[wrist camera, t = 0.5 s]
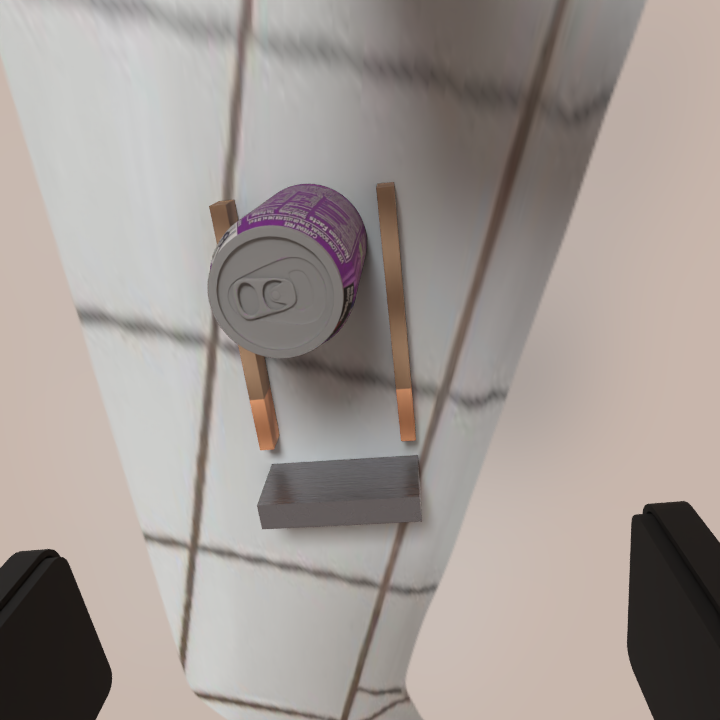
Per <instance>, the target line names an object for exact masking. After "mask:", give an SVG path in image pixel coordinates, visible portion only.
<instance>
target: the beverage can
mask: <svg viewBox="0 0 720 720" xmlns="http://www.w3.org/2000/svg"><path fill="white" fill-rule="evenodd" d="M366 250H367V236H366V230H365V227H364V224H363V221H362V219H361V217H360V215H359V213H358V211H357V210H356V209H355V207H354V206H353V205H352V204H351V203H350V201H348V200H347V199H346V198H345V197H344V196H343V195H341V194H340V193H338V192H336V191H335V190H332V189H330V188H328V187H325V186H321V185H316V184H300V185H295V186H291V187H288V188H286V189H284V190H282V191H280V192H278V193H277V194H276V195H274V196H273V197H271V198H270V199H268V200H267V201H266V202H264V203H263V204H261V205H260V206H259V207H257V208H256V209H254V210H253V211H251V212H250V213H249V214H247V215H246V216H244V217H243V218H242V219H240V220H239V221H237V222H236V223H235V224H234V225H232V226H231V227H230V228H229V229H228V230H227V231H226V233H225V234H224V235H223V236H222V238H221V239H220V241H219V243H218V244H217V246H216V249H215V251H214V254H213V257H212V260H211V266H210V273H209V278H208V297H209V302H210V306H211V309H212V312H213V314H214V317H215V319H216V320H217V322H218V324H219V325H220V327H221V328H222V329H223V331H224V332H225V333H226V334H227V335H228V336H229V337H230V338H231V339H232V340H233V341H234V342H235V343H237V344H238V345H240V346H241V347H243V348H244V349H246V350H248V351H250V352H252V353H255V354H258V355H261V356H265V357H270V358H291V357H296V356H300V355H303V354H306V353H308V352H310V351H312V350H314V349H315V348H317V347H318V346H320V345H321V344H323V343H324V342H326V341H328V340H329V339H330V338H332V337H333V336H334V335H335V334H336V333H337V332H338V331H339V330H340V329H341V328H342V326H343V325H344V324H345V322H346V320H347V319H348V317H349V315H350V313H351V311H352V308H353V305H354V302H355V298H356V294H357V289H358V285H359V281H360V277H361V273H362V269H363V264H364V260H365V256H366Z"/></svg>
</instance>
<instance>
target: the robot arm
mask: <svg viewBox="0 0 720 720" xmlns="http://www.w3.org/2000/svg"><path fill="white" fill-rule="evenodd" d="M627 633H628V634H627V648H628V655H629V660H630V663H631V666H632V669H633V672H634V674H635V676H636V678H637V681H638V683H639V686H640V688H641V690H642V693H643V695H644V697H645V700H646V702H647V704H648V707H649V709H650V711H651V714H652V716H653V718H654V720H720V542H719V541H718V540H717V539H716V537H715V536H714V535H713V533H712V532H711V531H710V530H709V528H708V527H707V526H706V524H705V523H704V522H703V520H702V519H701V518H700V517H699V515H698V514H697V513H696V511H695V510H694V509H693V507H692V506H691V505H690V504H689V503H688V502H685V501H680V502H667V503H655V504H647V505H645V507H644V509H643V514H639V515H634V516H633V518H632V524H631V552H630V578H629V606H628V632H627ZM111 684H112V672H111V668H110V665H109V663H108V661H107V658H106V656H105V653H104V650H103V648H102V646H101V643H100V640H99V638H98V635H97V633H96V631H95V628H94V626H93V623H92V620H91V618H90V615H89V613H88V611H87V608H86V606H85V603H84V601H83V598H82V596H81V593H80V590H79V588H78V586H77V583H76V580H75V578H74V576H73V573H72V570H71V568H70V566H69V563H68V562H67V560H66V559H65V558H63V557H60V556H59V554H58V553H57V552H56V551H55V550H51V549H45V550H31V551H20V552H18V553H15V554H14V555H12V556H11V557H10V558H9V559H8V560H7V561H6V562H5V563H4V565H3V566H2V567H1V568H0V720H96V718H97V716H98V714H99V712H100V710H101V708H102V706H103V704H104V702H105V700H106V698H107V696H108V694H109V691H110V688H111Z"/></svg>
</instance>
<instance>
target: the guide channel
mask: <svg viewBox="0 0 720 720" xmlns="http://www.w3.org/2000/svg"><path fill="white" fill-rule="evenodd" d="M376 190H377V200H378V210H379V220H380V231H381V241H382V251H383V261H384V271H385V281H386V292H387V302H388V312H389V322H390V332H391V342H392V353H393V363H394V373H395V383H396V393H397V403H398V414H399V424H400V434H401V441H413V440H416V436H415V420H414V408H413V397H412V385H411V374H410V362H409V350H408V339H407V327H406V316H405V304H404V293H403V281H402V270H401V258H400V247H399V235H398V223H397V212H396V200H395V189H394V182H391V183H381V184H377V187H376ZM209 208H210V212H211V217H212V222H213V227H214V231H215V236H216V241H217V244H218V243H219V241H220V239H221V238H222V236H223V235H224V234H225V233H226V231H227V230H228V229H229V228H230V227H231V226H232V225H234V224H235V223H236V222H237V221H238V216H237V211H236V206H235V201H234V200H226V201H218V202H217V203H215V204H213V205H211V206H209ZM238 346H239V351H240V356H241V361H242V365H243V370H244V375H245V380H246V385H247V389H248V394H249V399H250V404H251V408H252V413H253V418H254V423H255V428H256V432H257V437H258V442H259V447H260V450H273V449H274V448H275V445H276V443H277V440H278V437H279V430H278V425H277V420H276V414H275V409H274V404H273V399H272V394H271V388H270V383H269V378H268V373H267V368H266V362H265V357H264V356H261V355H258V354H255V353H252V352H250V351H248V350H246V349H244V348H243V347H241V346H240V345H238ZM257 507H258V512H259V516H260V521H261V525H262V529H278V528H298V527H318V526H338V525H358V524H378V523H398V522H418V521H422V515H421V496H420V477H419V466H418V455H415V456H399V457H383V458H366V459H350V460H334V461H318V462H301V463H285V464H272V466H271V468H270V471H269V474H268V477H267V480H266V482H265V485H264V488H263V491H262V493H261V496H260V499H259V502H258V505H257Z"/></svg>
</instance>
